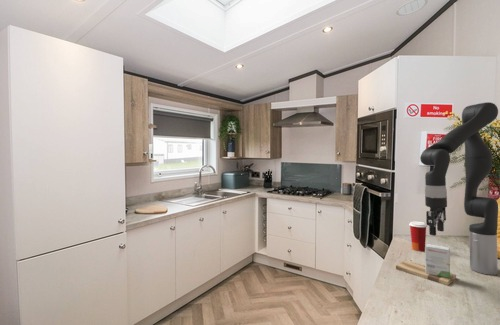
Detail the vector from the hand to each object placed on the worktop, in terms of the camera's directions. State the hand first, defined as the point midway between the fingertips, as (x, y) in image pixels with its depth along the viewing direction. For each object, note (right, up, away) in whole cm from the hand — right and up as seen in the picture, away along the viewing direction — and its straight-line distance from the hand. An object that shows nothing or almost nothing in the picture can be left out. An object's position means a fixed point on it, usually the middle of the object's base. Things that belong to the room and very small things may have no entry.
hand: (436, 233), depth 109 cm
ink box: (+1, -18, 0) cm, 18 cm away
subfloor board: (-2, -19, +4) cm, 20 cm away
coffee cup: (+14, -19, +33) cm, 40 cm away
